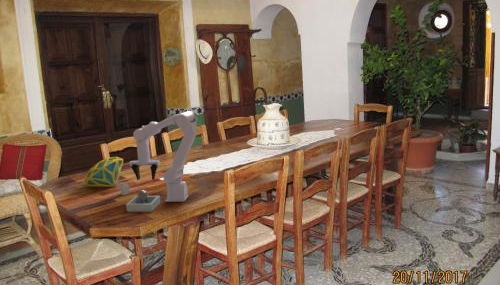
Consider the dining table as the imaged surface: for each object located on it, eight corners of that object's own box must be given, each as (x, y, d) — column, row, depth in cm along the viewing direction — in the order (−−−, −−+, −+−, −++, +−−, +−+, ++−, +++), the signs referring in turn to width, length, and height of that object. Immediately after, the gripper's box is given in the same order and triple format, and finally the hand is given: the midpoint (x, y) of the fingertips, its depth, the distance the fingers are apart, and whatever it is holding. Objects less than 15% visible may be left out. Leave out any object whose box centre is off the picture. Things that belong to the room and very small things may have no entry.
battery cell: (149, 204, 219) (147, 189, 217) (146, 207, 215) (144, 191, 213) (141, 204, 219) (139, 189, 218) (138, 207, 216) (136, 191, 214)
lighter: (127, 192, 241) (126, 177, 240) (129, 192, 240) (128, 178, 239) (116, 196, 236) (114, 181, 234) (118, 196, 235) (116, 181, 233)
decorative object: (118, 183, 270) (105, 161, 269) (139, 172, 255) (125, 148, 254) (85, 201, 252) (71, 177, 251) (106, 190, 237) (91, 164, 236)
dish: (160, 202, 222) (159, 195, 222) (152, 211, 211) (151, 204, 210) (136, 202, 224) (135, 195, 223) (126, 211, 212) (126, 204, 212)
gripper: (126, 154, 224) (129, 181, 226) (155, 154, 222) (157, 181, 225) (131, 151, 230) (134, 177, 233) (159, 150, 229) (162, 177, 231)
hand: (146, 179), depth 229 cm, fingers open, 7 cm apart
